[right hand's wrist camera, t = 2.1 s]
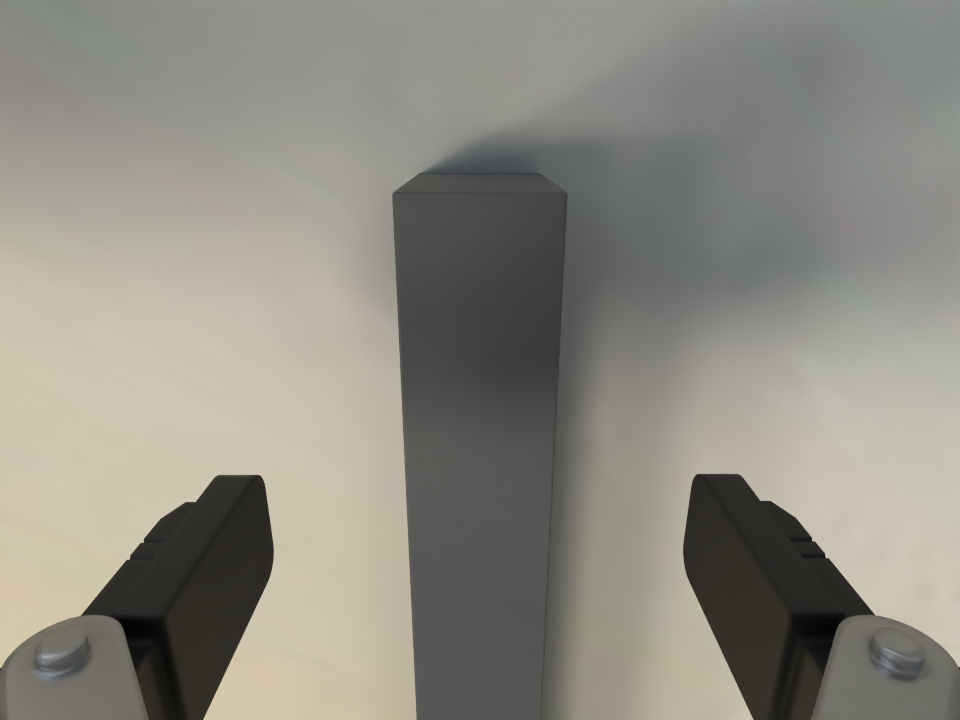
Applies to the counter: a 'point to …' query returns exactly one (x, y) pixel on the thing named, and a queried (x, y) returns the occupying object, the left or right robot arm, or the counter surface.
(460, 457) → the beam
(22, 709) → the right robot arm
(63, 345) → the counter surface
